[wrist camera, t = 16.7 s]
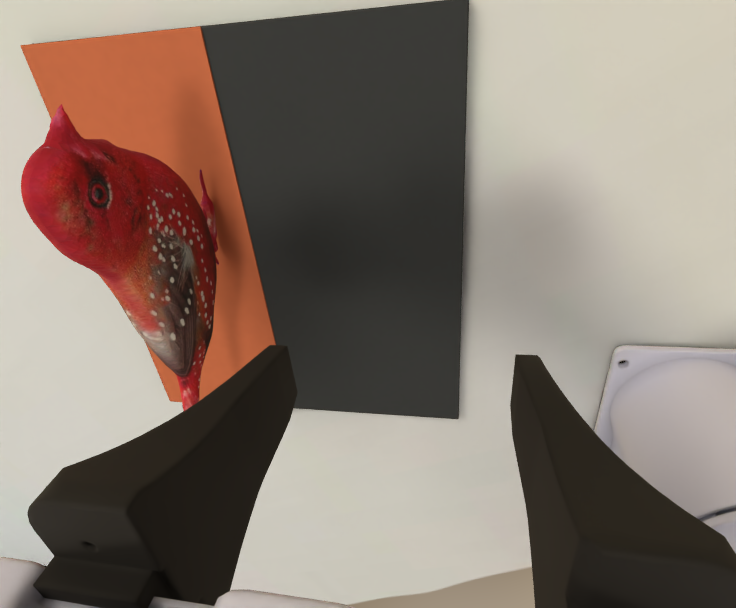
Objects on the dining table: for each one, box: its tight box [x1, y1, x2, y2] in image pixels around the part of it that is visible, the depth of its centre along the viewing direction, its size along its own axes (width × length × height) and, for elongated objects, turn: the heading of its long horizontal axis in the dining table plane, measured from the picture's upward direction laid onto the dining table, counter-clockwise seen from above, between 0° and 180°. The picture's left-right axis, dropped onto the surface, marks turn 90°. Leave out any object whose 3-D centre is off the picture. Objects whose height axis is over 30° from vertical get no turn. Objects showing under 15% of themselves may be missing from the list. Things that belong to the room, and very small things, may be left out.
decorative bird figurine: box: [21, 104, 219, 411], centre depth 21 cm, size 3×18×10 cm, turn 179°
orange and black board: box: [21, 0, 469, 419], centre depth 25 cm, size 20×22×1 cm
